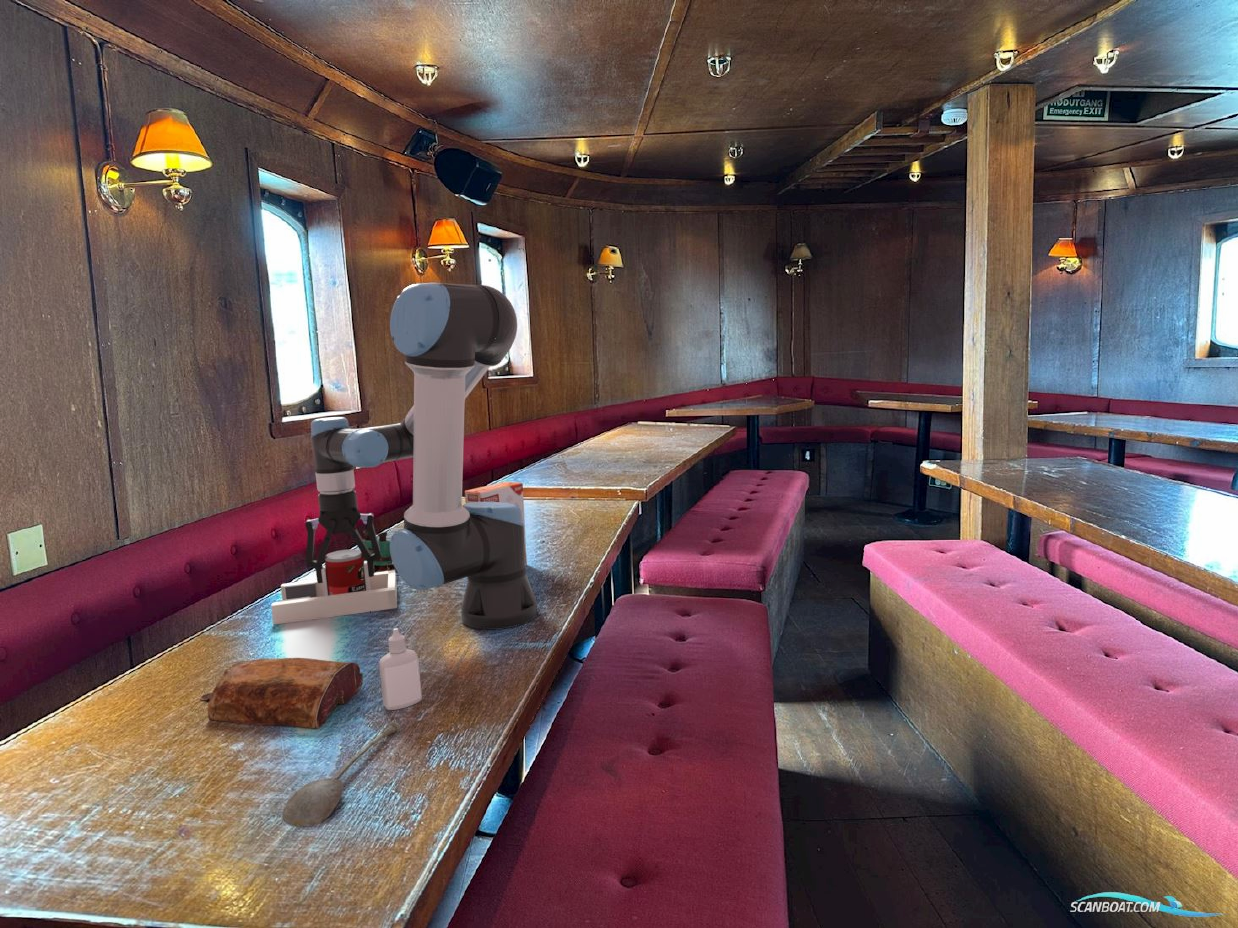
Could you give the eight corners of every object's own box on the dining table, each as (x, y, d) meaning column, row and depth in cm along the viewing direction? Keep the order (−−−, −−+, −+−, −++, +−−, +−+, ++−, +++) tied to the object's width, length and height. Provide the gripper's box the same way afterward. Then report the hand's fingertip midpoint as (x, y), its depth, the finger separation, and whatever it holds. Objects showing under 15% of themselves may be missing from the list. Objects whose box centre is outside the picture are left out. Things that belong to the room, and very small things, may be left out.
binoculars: (409, 527, 187) (383, 533, 177) (410, 569, 187) (384, 577, 178) (381, 525, 190) (353, 531, 181) (382, 566, 191) (354, 574, 181)
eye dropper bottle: (418, 709, 112) (411, 633, 110) (380, 711, 111) (373, 635, 109) (424, 695, 116) (417, 622, 114) (387, 698, 116) (380, 624, 114)
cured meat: (242, 671, 129) (237, 634, 127) (377, 675, 125) (372, 637, 123) (164, 726, 111) (157, 684, 110) (317, 733, 107) (312, 689, 106)
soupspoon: (270, 832, 86) (319, 841, 84) (267, 806, 85) (316, 815, 84) (376, 729, 107) (417, 735, 105) (374, 708, 106) (415, 713, 105)
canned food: (356, 609, 156) (350, 559, 155) (322, 608, 158) (316, 559, 156) (374, 597, 164) (369, 549, 162) (342, 596, 165) (336, 548, 164)
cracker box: (487, 580, 172) (480, 492, 169) (469, 576, 176) (462, 490, 173) (529, 564, 183) (523, 481, 180) (511, 561, 187) (506, 480, 184)
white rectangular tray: (396, 607, 157) (395, 589, 156) (273, 624, 150) (270, 605, 149) (396, 586, 171) (395, 570, 170) (284, 601, 164) (282, 583, 164)
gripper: (387, 483, 163) (397, 582, 167) (286, 492, 158) (298, 595, 161) (387, 488, 156) (397, 592, 160) (281, 498, 151) (294, 606, 154)
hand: (348, 593), depth 161 cm, fingers closed on canned food, 8 cm apart
